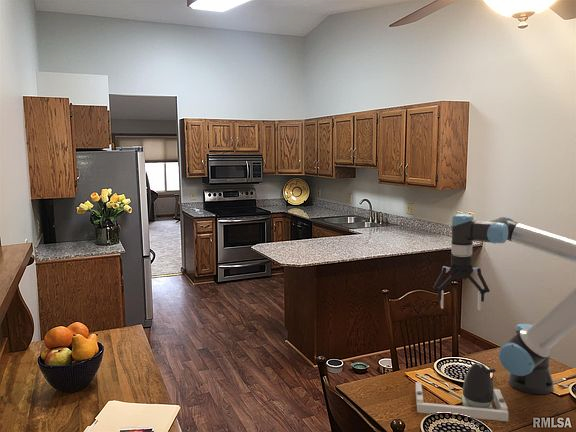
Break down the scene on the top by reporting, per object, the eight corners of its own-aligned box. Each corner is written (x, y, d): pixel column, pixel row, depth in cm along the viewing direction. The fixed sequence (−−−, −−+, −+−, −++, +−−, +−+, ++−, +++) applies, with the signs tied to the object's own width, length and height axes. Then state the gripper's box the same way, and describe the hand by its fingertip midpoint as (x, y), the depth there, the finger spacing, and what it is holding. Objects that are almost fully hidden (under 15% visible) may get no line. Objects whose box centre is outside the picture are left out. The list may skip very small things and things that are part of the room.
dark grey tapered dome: (492, 416, 155) (493, 373, 153) (459, 408, 160) (460, 366, 158) (496, 402, 163) (497, 361, 161) (465, 394, 169) (466, 355, 167)
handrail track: (499, 399, 166) (499, 387, 165) (508, 421, 152) (508, 408, 151) (415, 392, 172) (415, 380, 172) (417, 412, 159) (417, 399, 158)
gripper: (494, 253, 176) (492, 307, 179) (426, 251, 182) (426, 303, 185) (498, 257, 169) (497, 313, 172) (428, 255, 175) (427, 309, 177)
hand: (460, 308), depth 178 cm, fingers open, 13 cm apart
